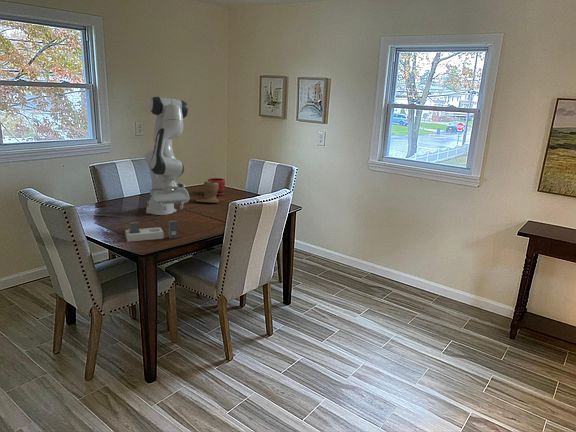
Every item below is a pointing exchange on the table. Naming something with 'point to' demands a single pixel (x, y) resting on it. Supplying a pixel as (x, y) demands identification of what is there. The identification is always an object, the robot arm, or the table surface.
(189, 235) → the table surface
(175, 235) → the plug
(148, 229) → the power strip
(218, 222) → the table surface
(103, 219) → the table surface
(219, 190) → the plant pot
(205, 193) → the tan boot
